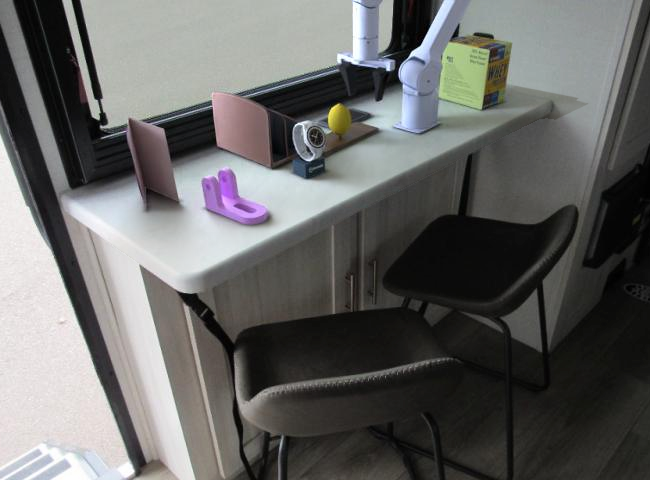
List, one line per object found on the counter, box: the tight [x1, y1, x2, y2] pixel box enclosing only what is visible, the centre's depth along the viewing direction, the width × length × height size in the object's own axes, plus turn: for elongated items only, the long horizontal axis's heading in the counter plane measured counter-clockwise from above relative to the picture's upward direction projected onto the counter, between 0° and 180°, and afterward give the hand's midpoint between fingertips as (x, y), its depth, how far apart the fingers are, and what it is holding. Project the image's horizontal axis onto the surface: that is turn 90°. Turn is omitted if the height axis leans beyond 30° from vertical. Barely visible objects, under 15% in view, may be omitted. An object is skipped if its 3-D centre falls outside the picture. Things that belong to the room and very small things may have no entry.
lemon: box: [327, 103, 351, 137], centre depth 136 cm, size 6×6×8 cm
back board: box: [304, 121, 380, 157], centre depth 139 cm, size 20×8×1 cm, turn 138°
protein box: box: [438, 34, 513, 111], centre depth 157 cm, size 10×15×16 cm
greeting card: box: [124, 116, 180, 210], centre depth 113 cm, size 11×7×15 cm, turn 16°
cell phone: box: [317, 107, 372, 129], centre depth 150 cm, size 7×14×1 cm, turn 138°
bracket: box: [201, 167, 268, 225], centre depth 109 cm, size 13×6×7 cm, turn 52°
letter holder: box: [211, 91, 301, 170], centre depth 131 cm, size 10×20×14 cm, turn 47°
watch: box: [292, 120, 327, 180], centre depth 121 cm, size 6×8×11 cm
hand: (365, 97), depth 135 cm, fingers open, 7 cm apart
